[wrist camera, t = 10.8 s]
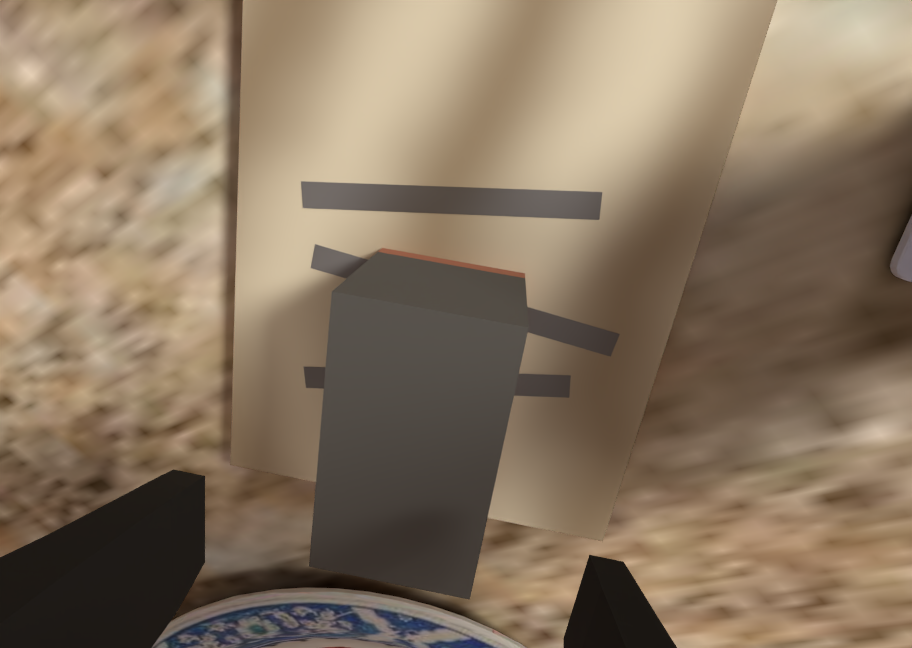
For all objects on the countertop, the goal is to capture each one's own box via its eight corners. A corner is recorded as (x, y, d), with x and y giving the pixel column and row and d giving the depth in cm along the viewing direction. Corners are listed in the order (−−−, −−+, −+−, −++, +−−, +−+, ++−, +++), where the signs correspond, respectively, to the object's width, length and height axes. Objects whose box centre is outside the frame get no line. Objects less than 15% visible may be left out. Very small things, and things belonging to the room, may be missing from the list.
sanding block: (525, 273, 17) (528, 327, 12) (480, 487, 20) (469, 599, 15) (382, 247, 17) (331, 291, 12) (358, 463, 20) (309, 566, 15)
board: (792, -103, 14) (817, -124, 13) (597, 519, 21) (602, 541, 20) (268, -185, 15) (248, -211, 14) (245, 447, 22) (230, 465, 20)
